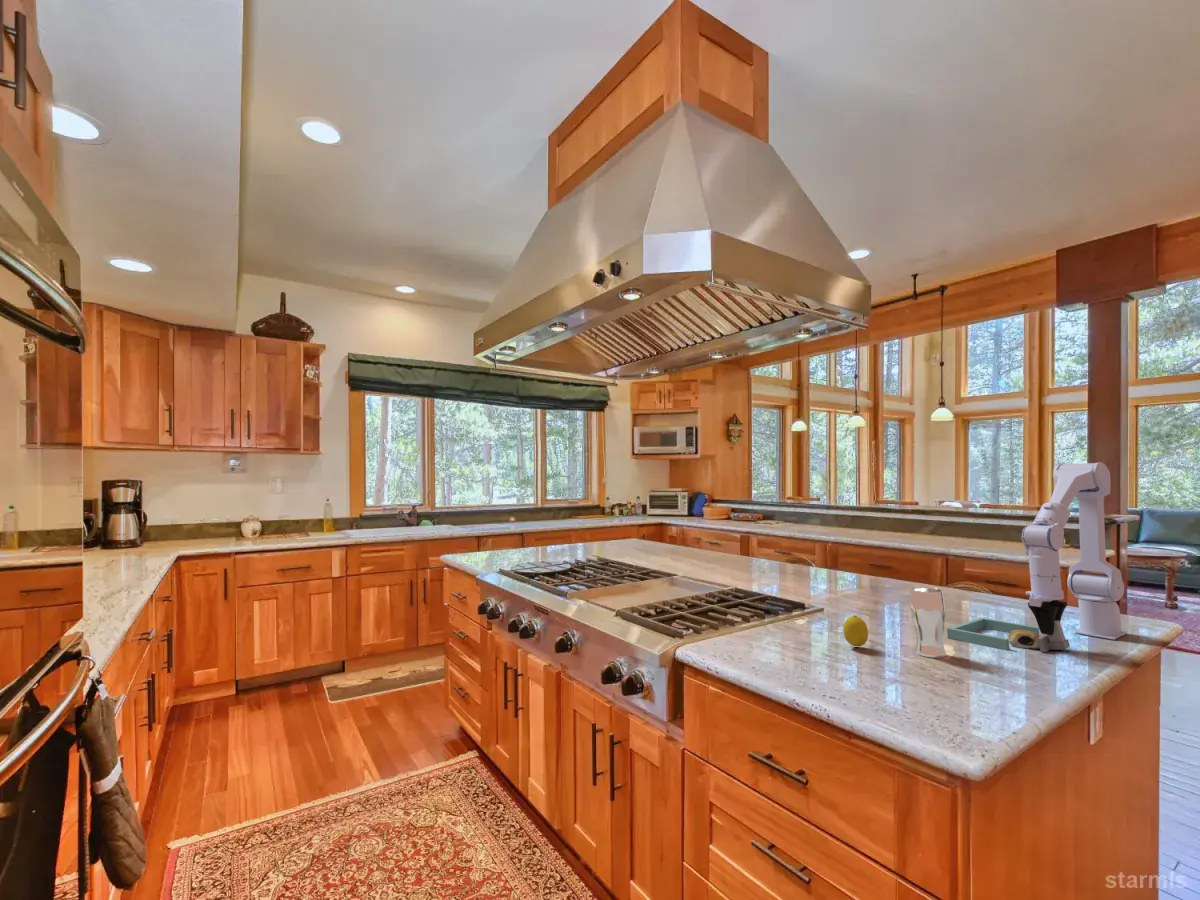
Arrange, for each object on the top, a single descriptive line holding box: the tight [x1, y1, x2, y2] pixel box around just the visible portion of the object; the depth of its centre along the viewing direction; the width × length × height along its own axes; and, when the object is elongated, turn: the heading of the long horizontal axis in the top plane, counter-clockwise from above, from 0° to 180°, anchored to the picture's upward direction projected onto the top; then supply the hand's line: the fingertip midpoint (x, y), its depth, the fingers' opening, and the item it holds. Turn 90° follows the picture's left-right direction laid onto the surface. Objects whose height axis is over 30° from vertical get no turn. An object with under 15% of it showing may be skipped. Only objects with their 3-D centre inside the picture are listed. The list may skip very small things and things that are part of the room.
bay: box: [946, 617, 1040, 651], centre depth 140 cm, size 18×13×2 cm
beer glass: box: [910, 586, 947, 659], centre depth 129 cm, size 7×7×15 cm
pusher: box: [1037, 620, 1071, 653], centre depth 130 cm, size 10×4×6 cm, turn 128°
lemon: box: [842, 614, 869, 647], centre depth 135 cm, size 6×6×8 cm
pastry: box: [1007, 629, 1040, 650], centre depth 135 cm, size 9×7×4 cm
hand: (1049, 633), depth 130 cm, fingers closed on pusher, 3 cm apart
